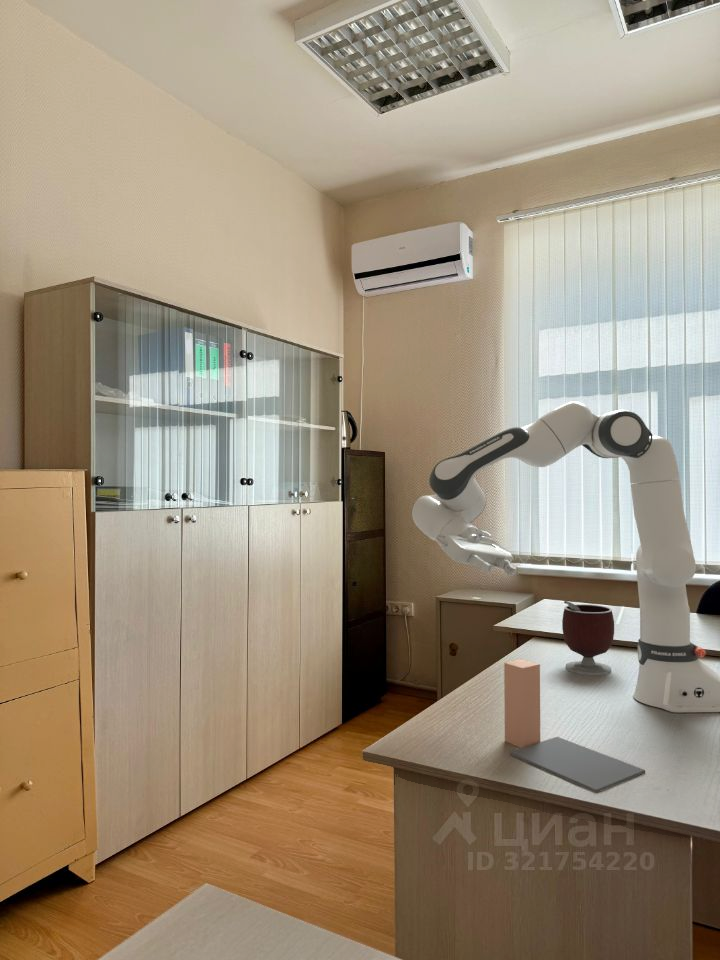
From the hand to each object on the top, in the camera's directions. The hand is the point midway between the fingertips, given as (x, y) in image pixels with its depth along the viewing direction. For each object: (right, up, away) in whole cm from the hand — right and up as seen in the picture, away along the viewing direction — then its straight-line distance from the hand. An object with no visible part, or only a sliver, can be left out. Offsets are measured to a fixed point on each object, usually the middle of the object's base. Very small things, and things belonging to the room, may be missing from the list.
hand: (501, 571), depth 155 cm
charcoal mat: (+9, -33, -25) cm, 42 cm away
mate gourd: (+32, -33, +39) cm, 60 cm away
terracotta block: (+1, -33, -14) cm, 36 cm away
